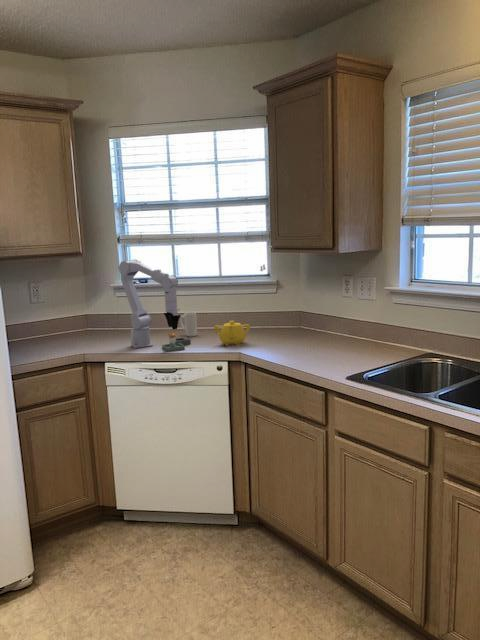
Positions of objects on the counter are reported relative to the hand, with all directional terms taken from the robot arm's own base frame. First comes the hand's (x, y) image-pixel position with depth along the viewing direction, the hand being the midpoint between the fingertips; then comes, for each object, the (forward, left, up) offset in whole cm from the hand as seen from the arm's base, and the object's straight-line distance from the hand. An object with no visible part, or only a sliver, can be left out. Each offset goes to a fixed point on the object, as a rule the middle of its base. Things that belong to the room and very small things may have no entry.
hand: (172, 327), depth 268 cm
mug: (+16, +27, -11) cm, 33 cm away
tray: (-1, -1, -10) cm, 10 cm away
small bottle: (-1, -1, -10) cm, 10 cm away
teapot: (+28, -9, -11) cm, 31 cm away
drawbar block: (+5, +8, -10) cm, 14 cm away
